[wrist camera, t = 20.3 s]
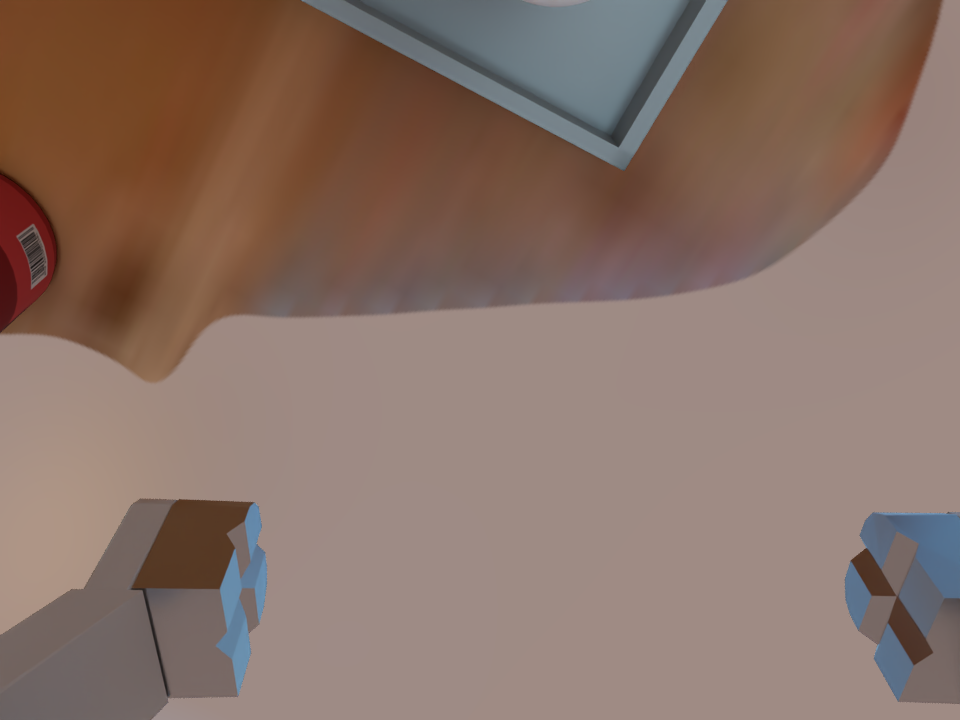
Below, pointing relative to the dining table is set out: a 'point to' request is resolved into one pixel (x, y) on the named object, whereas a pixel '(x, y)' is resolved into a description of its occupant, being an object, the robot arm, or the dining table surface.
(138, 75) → the dining table surface
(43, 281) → the canned food
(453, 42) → the tray
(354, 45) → the dining table surface
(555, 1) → the supplement bottle
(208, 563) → the robot arm
